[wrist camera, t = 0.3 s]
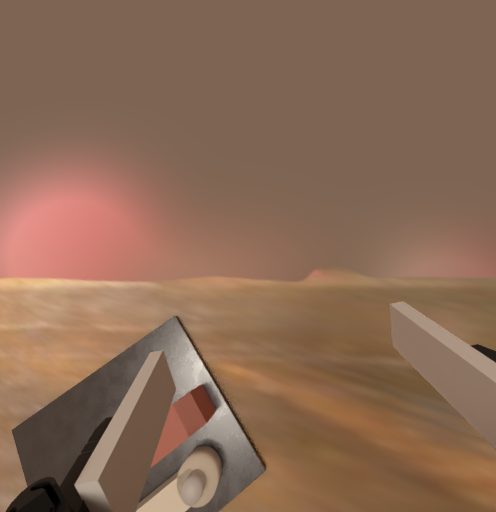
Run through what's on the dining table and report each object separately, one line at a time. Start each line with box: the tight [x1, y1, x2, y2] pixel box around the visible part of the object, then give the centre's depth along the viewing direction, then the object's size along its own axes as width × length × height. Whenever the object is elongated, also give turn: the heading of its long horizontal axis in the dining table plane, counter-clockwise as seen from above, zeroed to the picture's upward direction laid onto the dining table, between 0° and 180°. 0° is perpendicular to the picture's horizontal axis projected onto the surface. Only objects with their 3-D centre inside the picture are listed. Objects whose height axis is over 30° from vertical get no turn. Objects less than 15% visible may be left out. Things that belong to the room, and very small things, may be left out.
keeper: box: [150, 384, 216, 468], centre depth 39 cm, size 5×10×8 cm, turn 126°
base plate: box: [12, 316, 266, 512], centre depth 42 cm, size 30×34×2 cm
